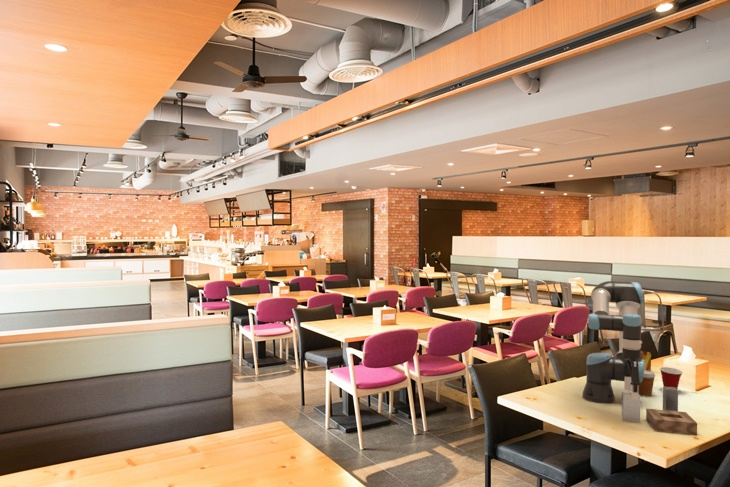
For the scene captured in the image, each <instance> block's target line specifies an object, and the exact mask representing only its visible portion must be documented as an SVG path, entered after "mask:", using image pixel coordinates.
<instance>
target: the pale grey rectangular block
mask: <svg viewBox="0 0 730 487" xmlns="http://www.w3.org/2000/svg"><path fill="white" fill-rule="evenodd" d="M621 420H622V421H626V422H636V423H641V395H640V394H638V400H635V399H631V392H622V391H621Z"/></svg>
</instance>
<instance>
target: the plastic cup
mask: <svg viewBox="0 0 730 487" xmlns="http://www.w3.org/2000/svg"><path fill="white" fill-rule="evenodd" d="M659 370H660V374H661V380H662V385H663V386H664V387H675V388H676V389H677V390H678V387H679V385H680V380H681V376H682V374H683V373H684V372H683V371H682V370H681V369H677V368H675V367H669V366H661V367H659ZM663 386H662V387H663Z"/></svg>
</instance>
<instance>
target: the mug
mask: <svg viewBox="0 0 730 487" xmlns="http://www.w3.org/2000/svg"><path fill="white" fill-rule="evenodd" d="M641 356H642V359H643V360H645V368H644V370H647V371H652V353H651V352H649V351H644V350H643V351H642V350H641Z"/></svg>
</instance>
